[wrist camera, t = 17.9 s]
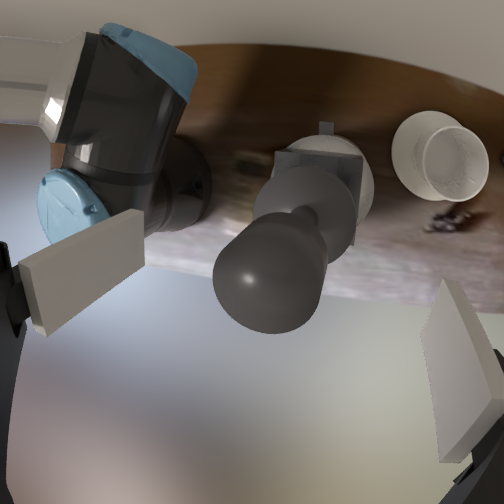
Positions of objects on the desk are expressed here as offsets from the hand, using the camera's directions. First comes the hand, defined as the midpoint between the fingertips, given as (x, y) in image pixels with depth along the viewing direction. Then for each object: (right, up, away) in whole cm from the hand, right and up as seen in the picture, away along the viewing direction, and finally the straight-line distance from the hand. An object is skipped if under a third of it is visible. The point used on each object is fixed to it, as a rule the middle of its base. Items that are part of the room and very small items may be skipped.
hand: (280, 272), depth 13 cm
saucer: (+23, +14, +24) cm, 36 cm away
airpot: (+10, +12, +29) cm, 33 cm away
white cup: (+23, +13, +23) cm, 35 cm away
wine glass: (+4, +5, +13) cm, 14 cm away
